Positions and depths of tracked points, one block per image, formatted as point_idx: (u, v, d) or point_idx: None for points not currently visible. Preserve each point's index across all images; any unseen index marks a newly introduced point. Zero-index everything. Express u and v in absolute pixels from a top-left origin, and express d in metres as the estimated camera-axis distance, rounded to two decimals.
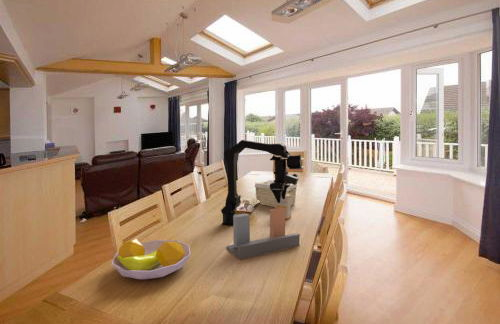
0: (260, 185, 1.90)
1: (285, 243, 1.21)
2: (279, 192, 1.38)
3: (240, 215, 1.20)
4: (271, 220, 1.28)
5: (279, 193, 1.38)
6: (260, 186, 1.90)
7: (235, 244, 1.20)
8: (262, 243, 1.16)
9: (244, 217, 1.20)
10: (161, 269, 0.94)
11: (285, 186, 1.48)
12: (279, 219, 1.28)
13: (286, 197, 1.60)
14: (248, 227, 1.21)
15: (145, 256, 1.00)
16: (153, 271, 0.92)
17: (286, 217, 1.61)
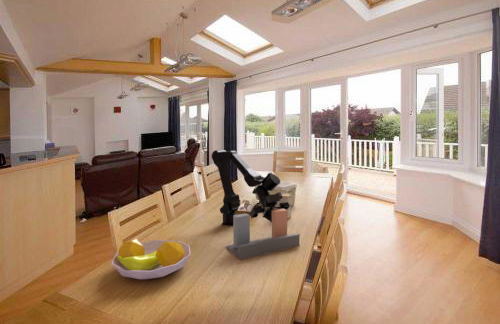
0: None
1: (285, 243, 1.21)
2: (270, 215, 1.31)
3: (240, 215, 1.20)
4: (273, 221, 1.27)
5: (270, 216, 1.31)
6: None
7: (235, 244, 1.20)
8: (262, 243, 1.16)
9: (244, 217, 1.20)
10: (161, 269, 0.94)
11: None
12: (281, 220, 1.26)
13: (286, 197, 1.60)
14: (248, 227, 1.21)
15: (145, 256, 1.00)
16: (153, 271, 0.92)
17: None
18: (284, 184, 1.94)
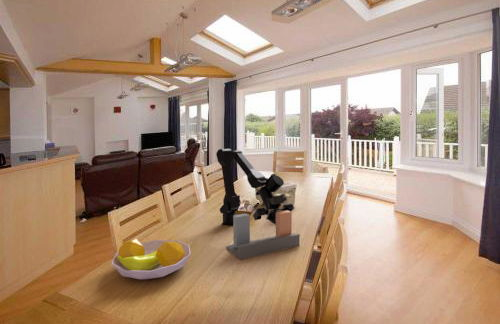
0: None
1: (285, 243, 1.21)
2: (273, 217, 1.28)
3: (240, 215, 1.20)
4: (277, 223, 1.24)
5: (274, 218, 1.28)
6: None
7: (235, 244, 1.20)
8: (262, 243, 1.16)
9: (244, 217, 1.20)
10: (161, 269, 0.94)
11: None
12: (285, 222, 1.24)
13: (286, 197, 1.60)
14: (248, 227, 1.21)
15: (145, 256, 1.00)
16: (153, 271, 0.92)
17: None
18: (284, 184, 1.94)
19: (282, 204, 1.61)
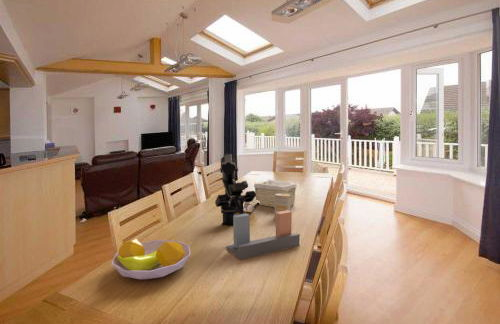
0: (259, 185, 1.89)
1: (285, 243, 1.21)
2: (235, 203, 1.31)
3: (240, 215, 1.20)
4: (277, 223, 1.24)
5: (235, 204, 1.31)
6: (259, 186, 1.89)
7: (235, 244, 1.20)
8: (262, 243, 1.16)
9: (244, 217, 1.20)
10: (161, 269, 0.94)
11: (239, 200, 1.33)
12: (285, 222, 1.24)
13: (286, 197, 1.60)
14: (248, 227, 1.21)
15: (145, 256, 1.00)
16: (153, 271, 0.92)
17: None
18: (284, 184, 1.94)
19: (282, 204, 1.61)
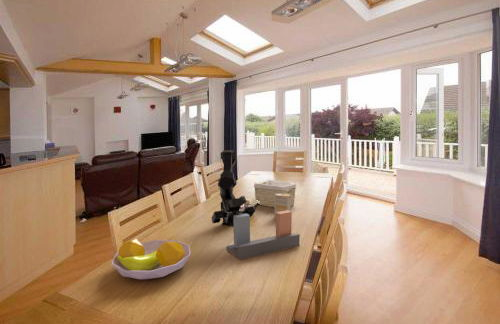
0: (259, 185, 1.89)
1: (285, 243, 1.21)
2: (232, 220, 1.24)
3: (240, 215, 1.20)
4: (277, 223, 1.24)
5: (233, 221, 1.24)
6: (259, 186, 1.89)
7: (235, 244, 1.20)
8: (262, 243, 1.16)
9: (244, 217, 1.20)
10: (161, 269, 0.94)
11: None
12: (285, 222, 1.24)
13: (286, 197, 1.60)
14: (248, 227, 1.21)
15: (145, 256, 1.00)
16: (153, 271, 0.92)
17: None
18: (283, 184, 1.94)
19: (282, 204, 1.61)
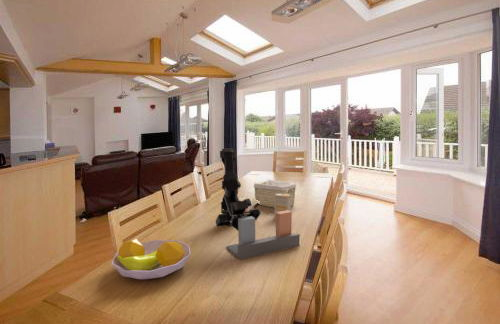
0: (259, 185, 1.89)
1: (285, 243, 1.21)
2: (237, 223, 1.20)
3: (245, 218, 1.16)
4: (277, 223, 1.24)
5: (237, 224, 1.20)
6: (259, 186, 1.89)
7: None
8: (262, 243, 1.16)
9: (249, 220, 1.16)
10: (161, 269, 0.94)
11: None
12: (285, 222, 1.24)
13: (286, 197, 1.60)
14: (254, 230, 1.17)
15: (145, 256, 1.00)
16: (153, 271, 0.92)
17: None
18: (283, 184, 1.94)
19: (282, 204, 1.61)
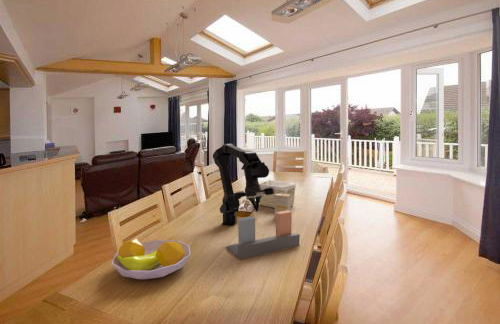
0: None
1: (285, 243, 1.21)
2: None
3: (245, 218, 1.16)
4: (277, 223, 1.24)
5: None
6: None
7: None
8: (262, 243, 1.16)
9: (249, 220, 1.16)
10: (161, 269, 0.94)
11: None
12: (285, 222, 1.24)
13: (286, 197, 1.60)
14: (254, 230, 1.17)
15: (145, 256, 1.00)
16: (153, 271, 0.92)
17: None
18: (283, 184, 1.93)
19: (282, 204, 1.61)
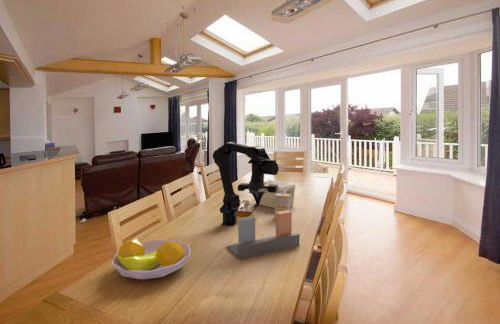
0: None
1: (285, 243, 1.21)
2: None
3: (245, 218, 1.16)
4: (277, 223, 1.24)
5: None
6: None
7: None
8: (262, 243, 1.16)
9: (249, 220, 1.16)
10: (161, 269, 0.94)
11: None
12: (285, 222, 1.24)
13: (286, 197, 1.60)
14: (254, 230, 1.17)
15: (145, 256, 1.00)
16: (153, 271, 0.92)
17: None
18: (283, 184, 1.93)
19: (282, 204, 1.61)
